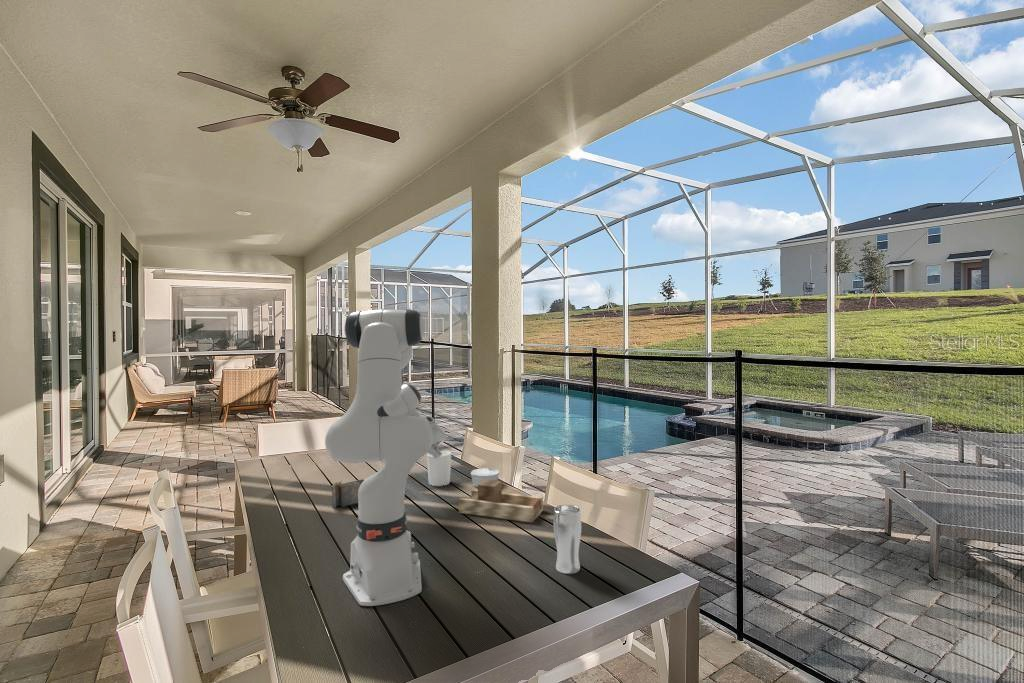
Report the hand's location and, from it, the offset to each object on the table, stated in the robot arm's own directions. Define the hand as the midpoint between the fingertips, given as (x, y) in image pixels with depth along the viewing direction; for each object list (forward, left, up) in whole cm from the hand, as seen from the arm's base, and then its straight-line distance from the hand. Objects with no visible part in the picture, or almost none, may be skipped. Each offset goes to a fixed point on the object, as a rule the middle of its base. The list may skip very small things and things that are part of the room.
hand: (439, 456), depth 168 cm
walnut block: (-14, -14, -15) cm, 25 cm away
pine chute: (-17, -17, -17) cm, 29 cm away
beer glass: (-60, -17, -17) cm, 65 cm away
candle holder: (+23, -6, -17) cm, 29 cm away
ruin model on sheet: (+14, +29, -17) cm, 37 cm away
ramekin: (+13, -22, -17) cm, 31 cm away
